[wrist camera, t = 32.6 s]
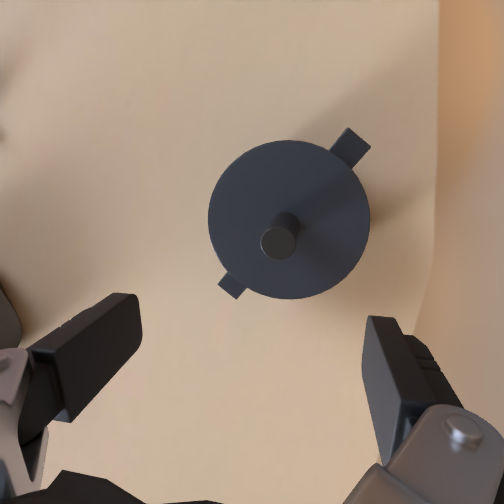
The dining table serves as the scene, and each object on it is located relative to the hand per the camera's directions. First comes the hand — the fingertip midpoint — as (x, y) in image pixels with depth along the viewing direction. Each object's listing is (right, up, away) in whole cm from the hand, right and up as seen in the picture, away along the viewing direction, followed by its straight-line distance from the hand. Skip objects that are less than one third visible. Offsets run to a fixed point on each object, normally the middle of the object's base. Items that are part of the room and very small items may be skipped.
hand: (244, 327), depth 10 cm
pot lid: (+3, +5, +16) cm, 17 cm away
